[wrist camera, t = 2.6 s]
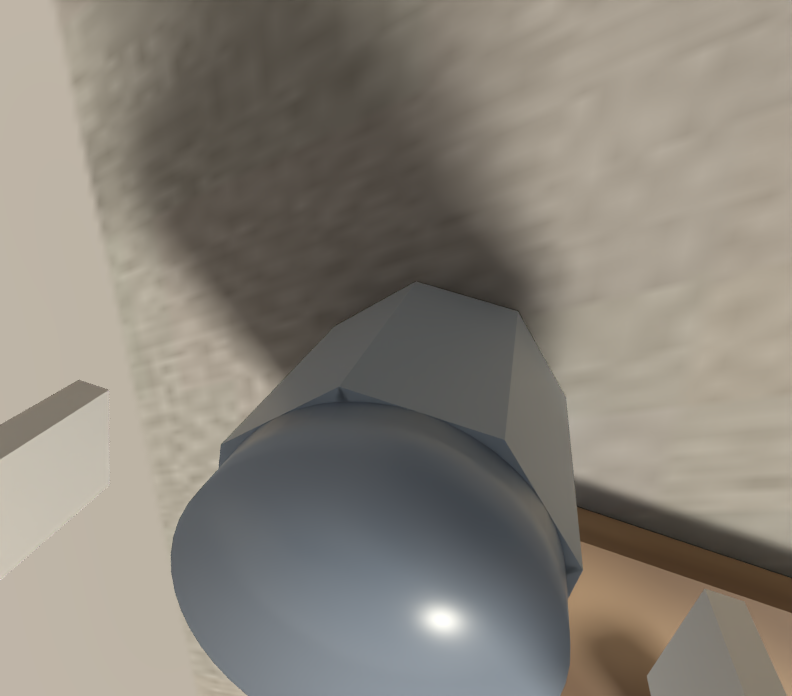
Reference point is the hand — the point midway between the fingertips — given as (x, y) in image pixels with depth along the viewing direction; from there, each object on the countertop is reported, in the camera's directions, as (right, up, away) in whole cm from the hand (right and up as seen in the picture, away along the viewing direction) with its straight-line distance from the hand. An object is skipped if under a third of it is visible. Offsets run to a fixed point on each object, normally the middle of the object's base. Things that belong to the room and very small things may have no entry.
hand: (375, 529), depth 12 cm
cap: (+2, +2, +5) cm, 5 cm away
